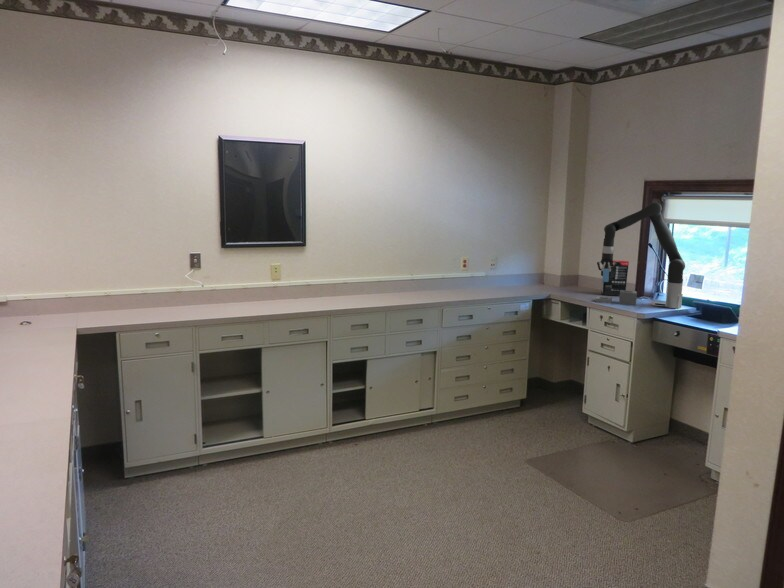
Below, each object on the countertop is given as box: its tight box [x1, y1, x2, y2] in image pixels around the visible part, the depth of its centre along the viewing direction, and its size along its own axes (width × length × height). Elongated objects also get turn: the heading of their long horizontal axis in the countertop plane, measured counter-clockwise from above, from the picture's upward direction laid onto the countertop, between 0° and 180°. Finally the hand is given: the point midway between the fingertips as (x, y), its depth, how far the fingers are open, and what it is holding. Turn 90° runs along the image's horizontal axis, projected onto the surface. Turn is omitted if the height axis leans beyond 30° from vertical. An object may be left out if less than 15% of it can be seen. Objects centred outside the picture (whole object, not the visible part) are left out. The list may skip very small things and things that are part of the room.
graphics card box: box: [600, 259, 630, 297], centre depth 439 cm, size 17×7×27 cm, turn 84°
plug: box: [601, 269, 609, 283], centre depth 409 cm, size 4×4×9 cm
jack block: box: [594, 289, 638, 306], centre depth 408 cm, size 27×11×8 cm, turn 68°
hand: (605, 276), depth 409 cm, fingers closed on plug, 4 cm apart
